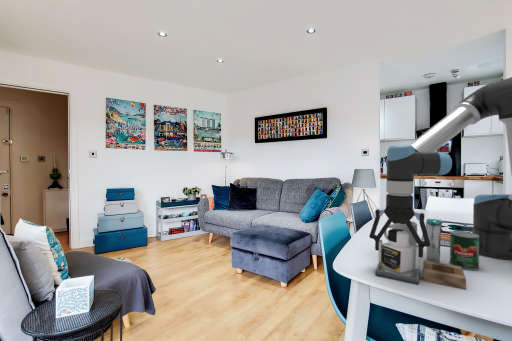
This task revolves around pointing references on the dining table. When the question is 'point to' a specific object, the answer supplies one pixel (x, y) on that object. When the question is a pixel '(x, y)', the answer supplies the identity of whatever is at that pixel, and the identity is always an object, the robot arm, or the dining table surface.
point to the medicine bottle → (398, 251)
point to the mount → (444, 274)
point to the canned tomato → (464, 250)
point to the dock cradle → (398, 274)
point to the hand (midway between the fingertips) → (397, 263)
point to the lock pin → (434, 240)
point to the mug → (404, 227)
